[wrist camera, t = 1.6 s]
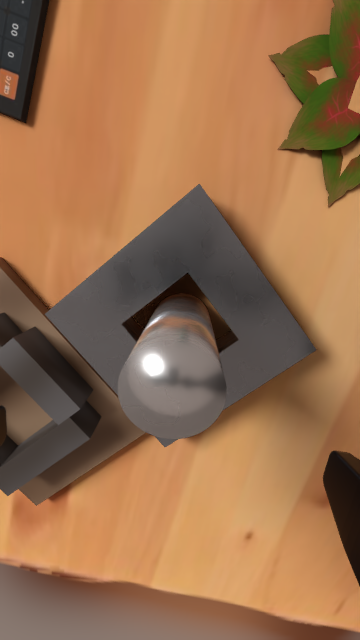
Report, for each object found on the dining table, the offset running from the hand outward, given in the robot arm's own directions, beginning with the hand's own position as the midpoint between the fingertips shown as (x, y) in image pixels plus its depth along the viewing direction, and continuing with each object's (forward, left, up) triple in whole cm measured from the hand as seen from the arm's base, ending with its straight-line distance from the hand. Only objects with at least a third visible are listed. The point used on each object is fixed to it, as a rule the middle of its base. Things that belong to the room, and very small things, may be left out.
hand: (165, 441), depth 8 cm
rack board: (+3, +13, -13) cm, 18 cm away
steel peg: (0, 0, -13) cm, 13 cm away
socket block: (0, 0, -13) cm, 13 cm away
